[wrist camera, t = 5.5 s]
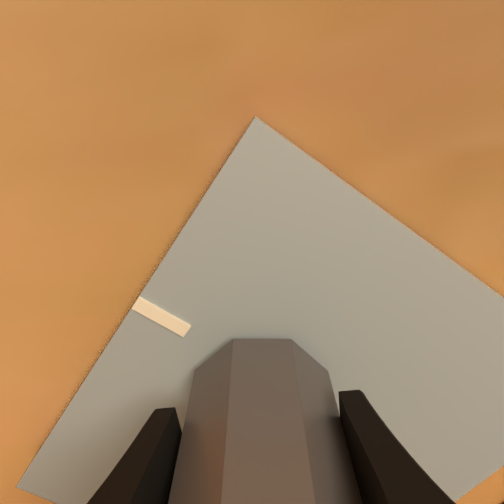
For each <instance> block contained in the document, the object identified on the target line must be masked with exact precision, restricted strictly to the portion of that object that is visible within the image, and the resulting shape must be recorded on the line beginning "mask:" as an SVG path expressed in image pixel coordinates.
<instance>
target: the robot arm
mask: <svg viewBox="0 0 504 504" xmlns="http://www.w3.org/2000/svg"><path fill="white" fill-rule="evenodd" d="M338 392H339V411H340V420H341V423H342V427H343V431H344V435H345V439H346V443H347V446H348V450H349V453H350V457H351V461H352V465H353V468H354V472H355V476H356V480H357V484H358V487H359V491H360V495H361V499H362V503H363V504H456V503H455V502H454V501H453V500H452V499H451V498H450V497H449V496H448V495H447V494H446V493H445V492H444V491H443V490H442V489H441V488H440V487H439V486H438V485H437V484H436V483H435V482H434V481H433V480H432V479H431V478H430V476H429V475H428V474H427V473H426V472H425V471H424V470H423V469H422V468H421V467H420V465H419V464H418V463H417V462H416V461H415V460H414V459H413V457H412V456H411V455H410V454H409V453H408V452H407V450H406V449H405V448H404V447H403V446H402V444H401V443H400V442H399V441H398V440H397V438H396V437H395V436H394V435H393V433H392V432H391V431H390V430H389V428H388V427H387V426H386V424H385V423H384V422H383V420H382V419H381V418H380V416H379V415H378V414H377V412H376V411H375V409H374V408H373V407H372V405H371V404H370V402H369V401H368V399H367V398H366V396H365V395H364V393H363V392H362V391H361V390H348V391H338ZM181 436H182V430H181V427H180V423H179V419H178V416H177V412H176V408H175V407H170V408H159V409H155V410H154V411H153V413H152V414H151V415H150V417H149V418H148V420H147V421H146V423H145V424H144V426H143V427H142V429H141V430H140V432H139V433H138V435H137V436H136V438H135V439H134V441H133V442H132V443H131V445H130V446H129V448H128V449H127V451H126V452H125V453H124V455H123V456H122V458H121V459H120V460H119V462H118V463H117V465H116V466H115V467H114V469H113V470H112V471H111V473H110V474H109V476H108V477H107V478H106V480H105V481H104V482H103V483H102V485H101V486H100V487H99V489H98V490H97V491H96V492H95V494H94V495H93V496H92V497H91V499H90V500H89V501H88V503H87V504H168V501H169V496H170V491H171V486H172V481H173V476H174V471H175V466H176V461H177V456H178V451H179V446H180V441H181Z"/></svg>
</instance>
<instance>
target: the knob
mask: <svg viewBox="0 0 504 504" xmlns="http://www.w3.org/2000/svg"><path fill="white" fill-rule="evenodd" d="M168 504H363V503H362V499H361V495H360V491H359V487H358V484H357V480H356V476H355V472H354V468H353V465H352V461H351V457H350V453H349V450H348V446H347V443H346V439H345V435H344V431H343V427H342V423H341V420H340V415H339V411H338V407H337V403H336V399H335V396H334V392H333V388H332V384H331V380H330V376H329V373H328V370H326V369H325V368H324V367H323V366H322V365H321V364H319V363H318V362H317V361H316V360H315V359H314V358H313V357H311V356H310V355H309V354H308V353H307V352H306V351H304V350H303V349H302V348H301V347H300V346H299V345H298V344H296V343H295V342H294V341H293V340H292V339H238V338H234V339H232V340H231V341H230V342H229V343H227V344H226V345H225V346H224V347H222V348H221V349H220V350H219V351H217V352H216V353H215V354H214V355H213V356H211V357H210V358H209V359H208V360H206V361H205V362H204V363H203V364H202V365H200V366H199V367H198V368H197V369H195V372H194V377H193V382H192V387H191V392H190V397H189V402H188V407H187V412H186V417H185V422H184V427H183V432H182V436H181V441H180V446H179V451H178V456H177V461H176V466H175V471H174V476H173V481H172V486H171V491H170V496H169V501H168Z"/></svg>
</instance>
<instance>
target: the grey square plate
mask: <svg viewBox="0 0 504 504" xmlns="http://www.w3.org/2000/svg"><path fill="white" fill-rule="evenodd" d="M234 338H238V339H292V340H293V341H294V342H295V343H296V344H298V345H299V346H300V347H301V348H302V349H303V350H304V351H306V352H307V353H308V354H309V355H310V356H311V357H313V358H314V359H315V360H316V361H317V362H318V363H319V364H321V365H322V366H323V367H324V368H325V369H326V370H328V373H329V376H330V380H331V384H332V388H333V392H334V396H335V399H336V403H337V407H338V411H339V392H338V391H348V390H361V391H362V392H363V393H364V395H365V396H366V398H367V399H368V401H369V402H370V404H371V405H372V407H373V408H374V409H375V411H376V412H377V414H378V415H379V416H380V418H381V419H382V420H383V422H384V423H385V424H386V426H387V427H388V428H389V430H390V431H391V432H392V433H393V435H394V436H395V437H396V438H397V440H398V441H399V442H400V443H401V444H402V446H403V447H404V448H405V449H406V450H407V452H408V453H409V454H410V455H411V456H412V457H413V459H414V460H415V461H416V462H417V463H418V464H419V465H420V467H421V468H422V469H423V470H424V471H425V472H426V473H427V474H428V475H429V476H430V478H431V479H432V480H433V481H434V482H435V483H436V484H437V485H438V486H439V487H440V488H441V489H442V490H443V491H444V492H445V493H446V494H447V495H448V496H449V497H450V498H451V499H452V500H453V501H454V502H455V501H457V500H458V499H459V498H461V497H462V496H463V495H465V494H466V493H468V492H469V491H470V490H472V489H473V488H474V487H476V486H477V485H478V484H480V483H481V482H482V481H484V480H485V479H486V478H488V477H489V476H490V475H492V474H493V473H494V472H496V471H497V470H498V469H500V468H501V467H503V466H504V297H503V296H501V295H500V294H498V293H497V292H496V291H494V290H493V289H492V288H490V287H489V286H488V285H486V284H485V283H483V282H482V281H481V280H479V279H478V278H477V277H475V276H474V275H472V274H471V273H470V272H468V271H467V270H466V269H464V268H463V267H462V266H460V265H459V264H457V263H456V262H455V261H453V260H452V259H451V258H449V257H448V256H446V255H445V254H444V253H442V252H441V251H440V250H438V249H437V248H436V247H434V246H433V245H431V244H430V243H429V242H427V241H426V240H425V239H423V238H422V237H420V236H419V235H418V234H416V233H415V232H414V231H412V230H411V229H410V228H408V227H407V226H405V225H404V224H403V223H401V222H400V221H399V220H397V219H396V218H395V217H393V216H392V215H390V214H389V213H388V212H386V211H385V210H384V209H382V208H381V207H379V206H378V205H377V204H375V203H374V202H373V201H371V200H370V199H369V198H367V197H366V196H364V195H363V194H362V193H360V192H359V191H358V190H356V189H355V188H353V187H352V186H351V185H349V184H348V183H347V182H345V181H344V180H343V179H341V178H340V177H338V176H337V175H336V174H334V173H333V172H332V171H330V170H329V169H328V168H326V167H325V166H323V165H322V164H321V163H319V162H318V161H317V160H315V159H314V158H312V157H311V156H310V155H308V154H307V153H306V152H304V151H303V150H302V149H300V148H299V147H297V146H296V145H295V144H293V143H292V142H291V141H289V140H288V139H286V138H285V137H284V136H282V135H281V134H280V133H278V132H277V131H276V130H274V129H273V128H271V127H270V126H269V125H267V124H266V123H265V122H263V121H262V120H260V119H259V118H258V117H256V116H254V118H253V120H252V121H251V123H250V124H249V126H248V127H247V129H246V130H245V132H244V133H243V135H242V137H241V138H240V140H239V141H238V143H237V144H236V146H235V147H234V149H233V150H232V152H231V154H230V155H229V157H228V158H227V160H226V161H225V163H224V164H223V166H222V167H221V169H220V171H219V172H218V174H217V175H216V177H215V178H214V180H213V181H212V183H211V184H210V186H209V188H208V189H207V191H206V192H205V194H204V195H203V197H202V198H201V200H200V201H199V203H198V205H197V206H196V208H195V209H194V211H193V212H192V214H191V215H190V217H189V219H188V220H187V222H186V223H185V225H184V226H183V228H182V229H181V231H180V232H179V234H178V236H177V237H176V239H175V240H174V242H173V243H172V245H171V246H170V248H169V249H168V251H167V253H166V254H165V256H164V257H163V259H162V260H161V262H160V263H159V265H158V266H157V268H156V270H155V271H154V273H153V274H152V276H151V277H150V279H149V280H148V282H147V283H146V285H145V287H144V288H143V290H142V291H141V293H140V294H139V296H138V297H137V299H136V300H135V302H134V304H133V305H132V307H131V308H130V310H129V311H128V313H127V314H126V316H125V317H124V319H123V321H122V322H121V324H120V325H119V327H118V328H117V330H116V331H115V333H114V334H113V336H112V338H111V339H110V341H109V342H108V344H107V345H106V347H105V348H104V350H103V352H102V353H101V355H100V356H99V358H98V359H97V361H96V362H95V364H94V365H93V367H92V369H91V370H90V372H89V373H88V375H87V376H86V378H85V379H84V381H83V382H82V384H81V386H80V387H79V389H78V390H77V392H76V393H75V395H74V396H73V398H72V399H71V401H70V403H69V404H68V406H67V407H66V409H65V410H64V412H63V413H62V415H61V416H60V418H59V420H58V421H57V423H56V424H55V426H54V427H53V429H52V430H51V432H50V433H49V435H48V437H47V438H46V440H45V441H44V443H43V444H42V446H41V447H40V449H39V450H38V452H37V454H36V455H35V457H34V458H33V460H32V461H31V463H30V465H29V466H28V468H27V469H26V471H25V473H24V474H23V476H22V478H21V479H20V481H19V482H18V484H17V486H16V487H17V488H19V489H22V490H24V491H27V492H29V493H32V494H34V495H36V496H39V497H41V498H44V499H46V500H49V501H51V502H54V503H56V504H87V503H88V501H89V500H90V499H91V497H92V496H93V495H94V494H95V492H96V491H97V490H98V489H99V487H100V486H101V485H102V483H103V482H104V481H105V480H106V478H107V477H108V476H109V474H110V473H111V471H112V470H113V469H114V467H115V466H116V465H117V463H118V462H119V460H120V459H121V458H122V456H123V455H124V453H125V452H126V451H127V449H128V448H129V446H130V445H131V443H132V442H133V441H134V439H135V438H136V436H137V435H138V433H139V432H140V430H141V429H142V427H143V426H144V424H145V423H146V421H147V420H148V418H149V417H150V415H151V414H152V413H153V411H154V410H155V409H159V408H170V407H175V408H176V412H177V416H178V419H179V423H180V427H181V430H182V432H183V427H184V422H185V417H186V412H187V407H188V402H189V397H190V392H191V387H192V382H193V377H194V372H195V369H197V368H198V367H199V366H200V365H202V364H203V363H204V362H205V361H206V360H208V359H209V358H210V357H211V356H213V355H214V354H215V353H216V352H217V351H219V350H220V349H221V348H222V347H224V346H225V345H226V344H227V343H229V342H230V341H231V340H232V339H234ZM339 415H340V411H339Z"/></svg>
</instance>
